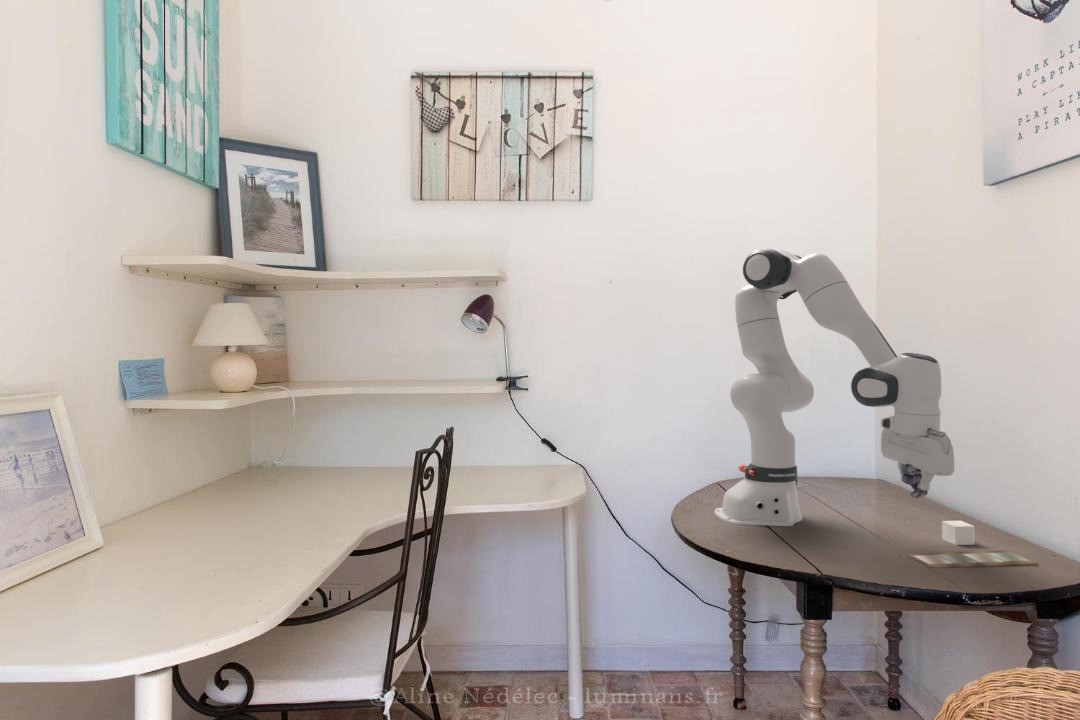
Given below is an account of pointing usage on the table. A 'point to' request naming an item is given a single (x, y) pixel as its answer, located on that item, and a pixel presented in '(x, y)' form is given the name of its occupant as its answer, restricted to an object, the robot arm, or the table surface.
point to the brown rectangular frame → (972, 559)
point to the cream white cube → (958, 532)
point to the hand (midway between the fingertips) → (914, 486)
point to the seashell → (913, 480)
